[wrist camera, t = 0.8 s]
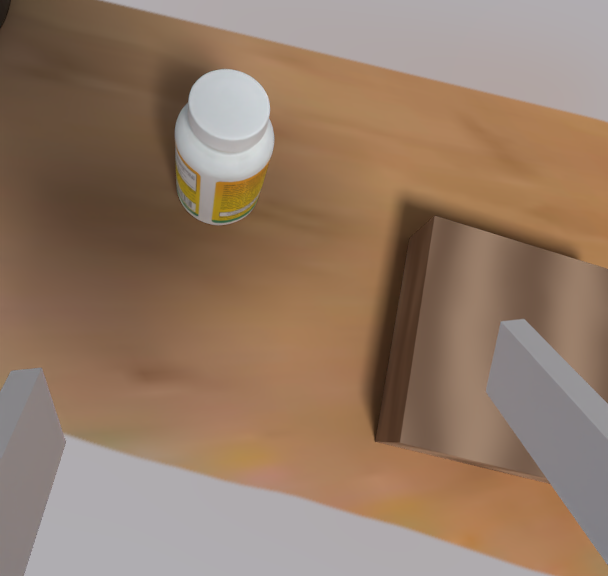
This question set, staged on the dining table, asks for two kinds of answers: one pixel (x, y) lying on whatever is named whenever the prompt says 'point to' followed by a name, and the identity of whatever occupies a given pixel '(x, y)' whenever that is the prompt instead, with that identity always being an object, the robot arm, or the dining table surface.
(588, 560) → the dining table surface
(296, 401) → the dining table surface
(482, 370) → the walnut riser
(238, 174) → the supplement bottle
